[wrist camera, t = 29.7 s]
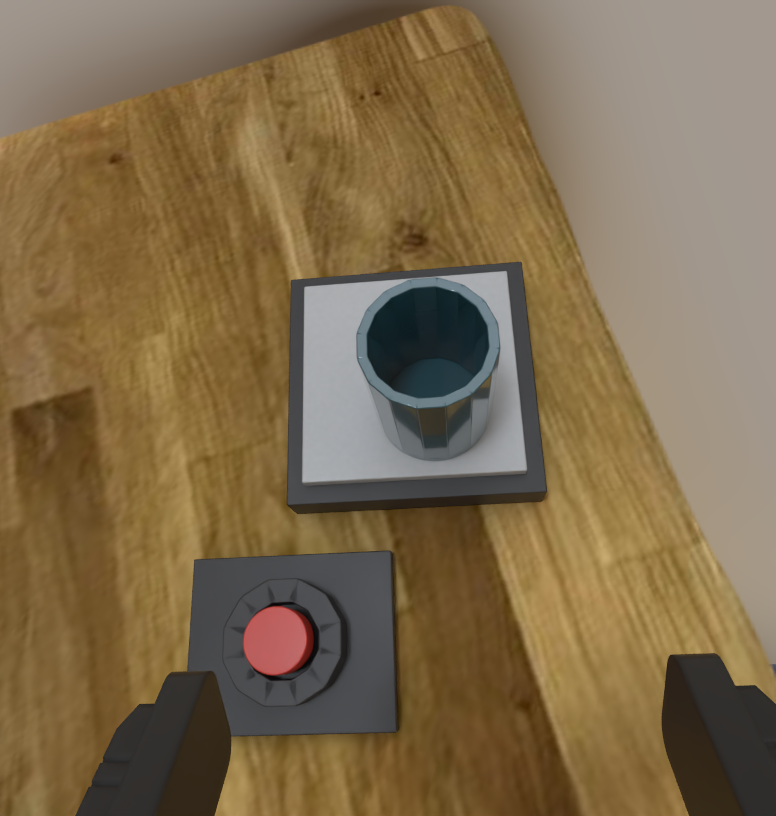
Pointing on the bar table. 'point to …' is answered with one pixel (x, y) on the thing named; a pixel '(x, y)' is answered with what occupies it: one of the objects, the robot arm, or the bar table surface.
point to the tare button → (278, 640)
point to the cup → (430, 366)
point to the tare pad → (332, 652)
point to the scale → (357, 421)
